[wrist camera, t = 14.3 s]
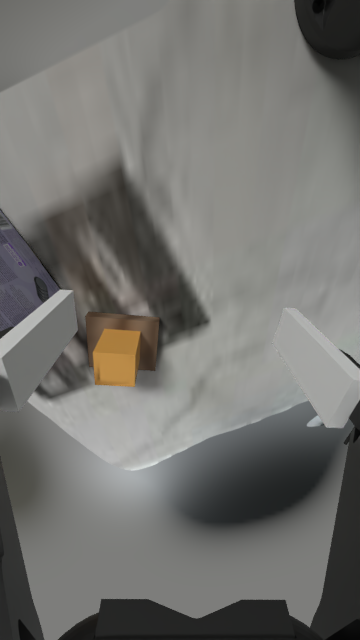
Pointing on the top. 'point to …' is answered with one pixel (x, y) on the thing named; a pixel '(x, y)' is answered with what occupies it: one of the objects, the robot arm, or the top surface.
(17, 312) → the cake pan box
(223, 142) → the top surface
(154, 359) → the base plate
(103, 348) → the orange cube block
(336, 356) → the robot arm
